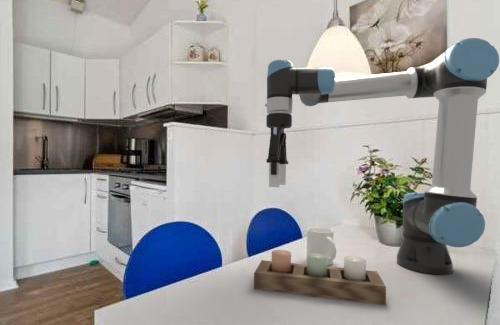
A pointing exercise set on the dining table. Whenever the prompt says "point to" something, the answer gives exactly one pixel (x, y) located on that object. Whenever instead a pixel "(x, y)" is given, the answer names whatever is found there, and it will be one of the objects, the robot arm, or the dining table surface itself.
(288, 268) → the peach rounded piece
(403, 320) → the dining table surface
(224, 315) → the dining table surface
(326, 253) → the mug
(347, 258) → the white short cylinder
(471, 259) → the dining table surface
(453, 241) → the robot arm
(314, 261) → the pale green rounded piece
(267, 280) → the wooden compartment tray
